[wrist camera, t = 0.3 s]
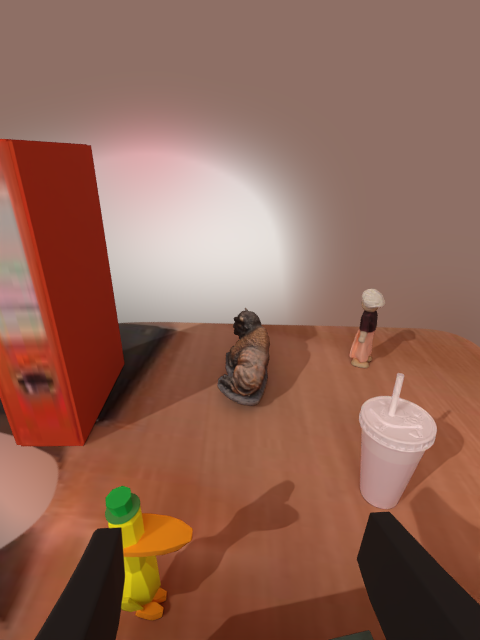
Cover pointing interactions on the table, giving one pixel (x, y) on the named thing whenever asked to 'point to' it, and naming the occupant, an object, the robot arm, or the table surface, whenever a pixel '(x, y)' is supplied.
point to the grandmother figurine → (366, 328)
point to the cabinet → (356, 636)
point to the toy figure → (143, 550)
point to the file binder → (54, 294)
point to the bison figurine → (246, 361)
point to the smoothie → (392, 445)
